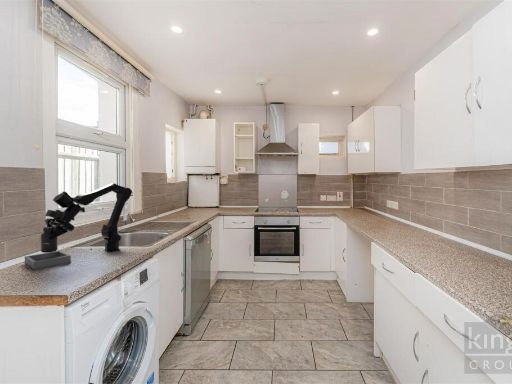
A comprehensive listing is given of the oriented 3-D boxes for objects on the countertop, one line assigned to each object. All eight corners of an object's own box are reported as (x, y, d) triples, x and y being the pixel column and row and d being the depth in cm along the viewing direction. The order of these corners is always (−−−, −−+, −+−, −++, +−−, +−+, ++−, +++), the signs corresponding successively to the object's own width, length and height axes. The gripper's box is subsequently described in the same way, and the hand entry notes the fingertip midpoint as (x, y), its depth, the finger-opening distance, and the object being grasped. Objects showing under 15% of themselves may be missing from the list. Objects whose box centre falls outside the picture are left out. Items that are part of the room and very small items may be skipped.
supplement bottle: (42, 253, 133) (41, 228, 133) (39, 251, 138) (39, 227, 137) (59, 251, 138) (58, 227, 138) (56, 248, 143) (55, 225, 142)
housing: (60, 257, 150) (60, 250, 149) (70, 263, 140) (70, 255, 140) (24, 264, 138) (24, 256, 138) (33, 270, 129) (33, 262, 128)
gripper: (48, 202, 145) (23, 226, 136) (66, 204, 136) (41, 230, 127) (65, 216, 152) (42, 239, 143) (84, 218, 143) (60, 244, 134)
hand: (46, 238), depth 137 cm, fingers closed on supplement bottle, 7 cm apart
